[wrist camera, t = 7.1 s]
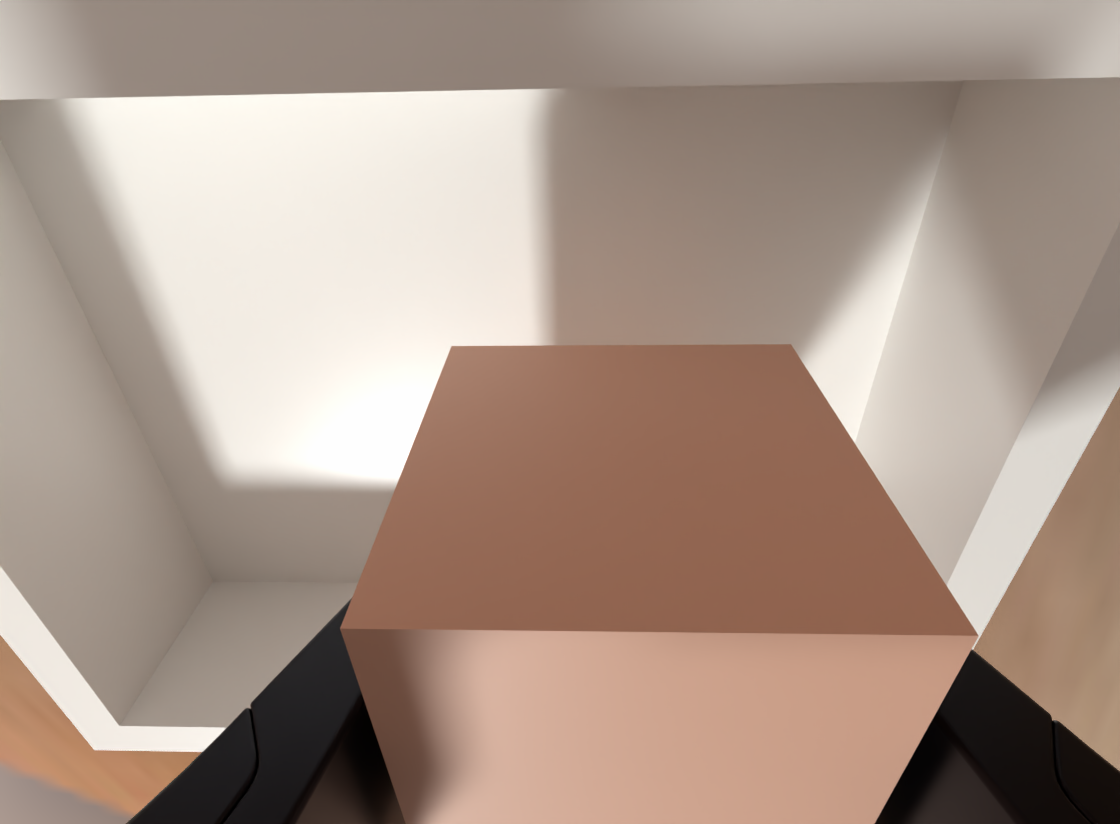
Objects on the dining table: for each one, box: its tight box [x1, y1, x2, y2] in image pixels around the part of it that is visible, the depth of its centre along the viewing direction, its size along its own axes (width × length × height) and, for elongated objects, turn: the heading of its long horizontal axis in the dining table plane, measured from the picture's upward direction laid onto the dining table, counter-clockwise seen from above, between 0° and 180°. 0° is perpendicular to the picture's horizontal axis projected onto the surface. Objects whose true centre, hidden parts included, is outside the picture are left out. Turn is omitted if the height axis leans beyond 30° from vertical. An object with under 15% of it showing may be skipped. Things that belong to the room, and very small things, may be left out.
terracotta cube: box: [340, 344, 979, 824], centre depth 8 cm, size 5×5×5 cm
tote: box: [0, 0, 1120, 752], centre depth 12 cm, size 18×14×5 cm
